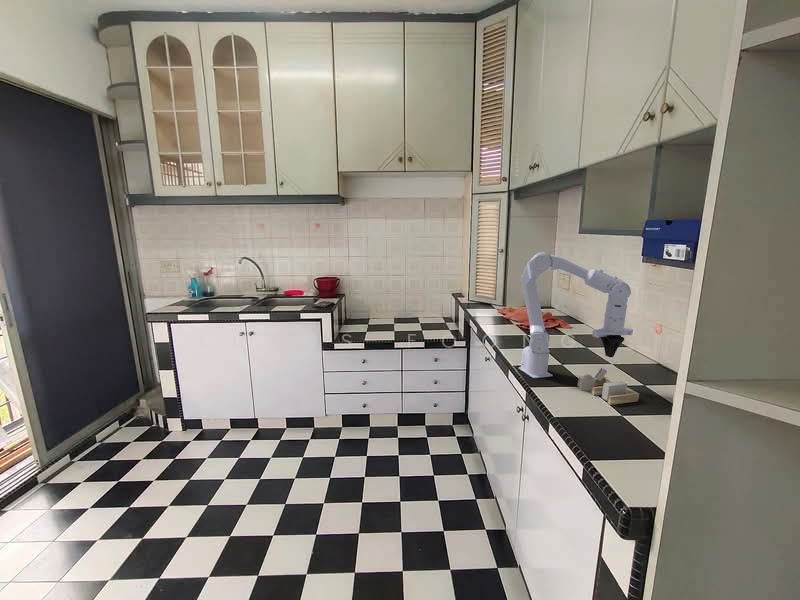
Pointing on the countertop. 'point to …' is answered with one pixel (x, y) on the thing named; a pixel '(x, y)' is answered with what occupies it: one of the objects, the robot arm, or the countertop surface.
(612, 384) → the grey block
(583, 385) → the lighter
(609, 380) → the rack
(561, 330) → the countertop surface
